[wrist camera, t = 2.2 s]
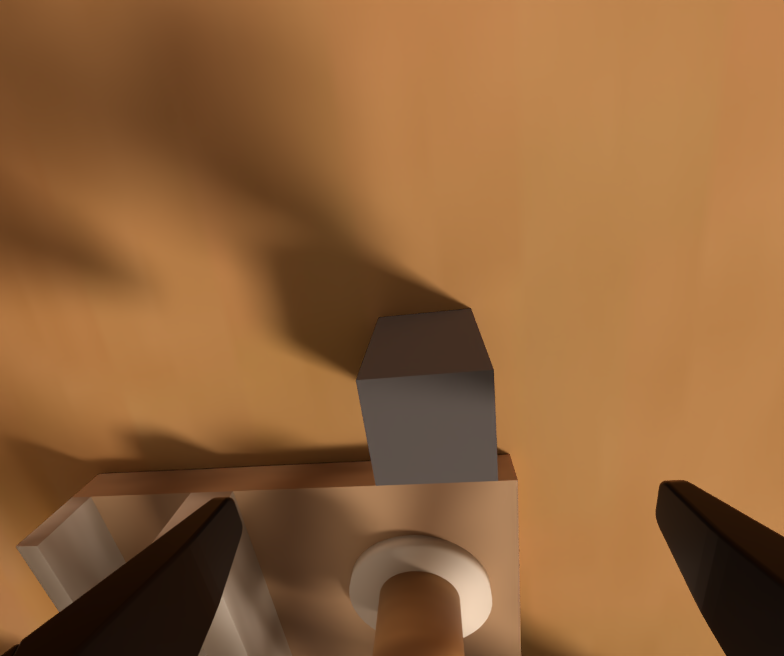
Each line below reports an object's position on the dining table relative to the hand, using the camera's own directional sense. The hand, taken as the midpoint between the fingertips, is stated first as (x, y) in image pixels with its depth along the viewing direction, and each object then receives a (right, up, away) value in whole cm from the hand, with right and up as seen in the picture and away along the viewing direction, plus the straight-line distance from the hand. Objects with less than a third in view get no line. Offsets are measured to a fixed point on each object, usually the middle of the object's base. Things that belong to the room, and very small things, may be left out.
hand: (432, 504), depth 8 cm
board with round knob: (-5, -8, +11) cm, 15 cm away
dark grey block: (+1, +3, +7) cm, 7 cm away
